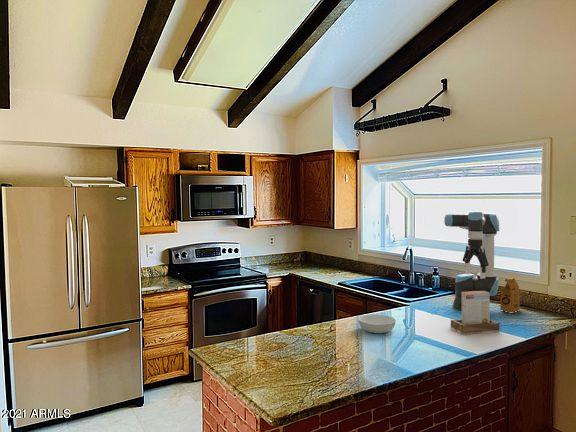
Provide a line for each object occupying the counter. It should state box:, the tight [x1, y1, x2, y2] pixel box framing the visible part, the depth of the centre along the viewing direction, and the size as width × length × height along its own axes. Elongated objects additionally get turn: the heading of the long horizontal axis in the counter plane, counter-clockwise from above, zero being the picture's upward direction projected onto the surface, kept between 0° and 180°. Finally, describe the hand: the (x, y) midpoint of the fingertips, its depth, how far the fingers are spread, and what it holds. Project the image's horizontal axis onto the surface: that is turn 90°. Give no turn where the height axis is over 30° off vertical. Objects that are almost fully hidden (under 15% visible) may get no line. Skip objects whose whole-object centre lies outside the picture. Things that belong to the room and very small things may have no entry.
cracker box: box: [461, 291, 491, 325], centre depth 255 cm, size 14×6×21 cm, turn 96°
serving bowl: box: [357, 313, 397, 334], centre depth 255 cm, size 21×21×7 cm
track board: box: [450, 318, 501, 336], centre depth 255 cm, size 13×22×5 cm, turn 102°
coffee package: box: [499, 276, 521, 313], centre depth 296 cm, size 10×12×22 cm
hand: (474, 276), depth 254 cm, fingers open, 13 cm apart
